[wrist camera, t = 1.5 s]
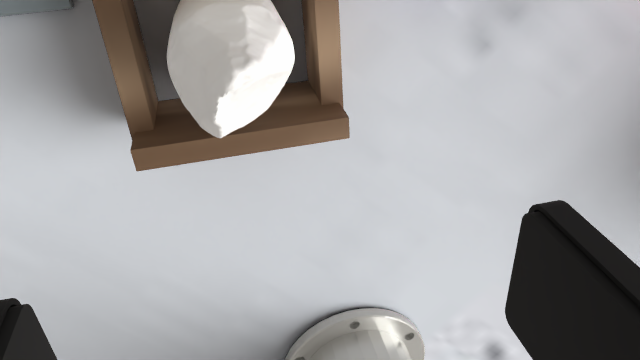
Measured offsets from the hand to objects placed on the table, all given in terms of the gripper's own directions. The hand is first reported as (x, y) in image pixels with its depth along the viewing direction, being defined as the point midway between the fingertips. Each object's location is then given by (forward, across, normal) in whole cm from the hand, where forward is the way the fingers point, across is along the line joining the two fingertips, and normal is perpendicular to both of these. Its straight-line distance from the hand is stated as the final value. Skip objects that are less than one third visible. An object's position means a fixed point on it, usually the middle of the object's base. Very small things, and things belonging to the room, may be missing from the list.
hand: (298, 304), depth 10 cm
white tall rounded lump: (+23, 0, 0) cm, 23 cm away
